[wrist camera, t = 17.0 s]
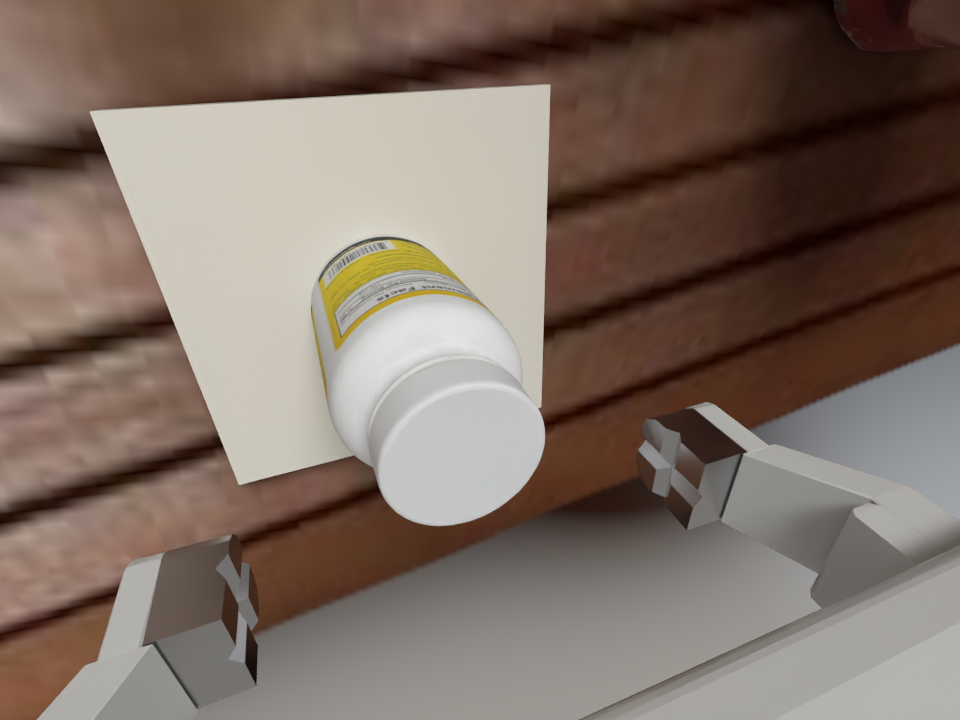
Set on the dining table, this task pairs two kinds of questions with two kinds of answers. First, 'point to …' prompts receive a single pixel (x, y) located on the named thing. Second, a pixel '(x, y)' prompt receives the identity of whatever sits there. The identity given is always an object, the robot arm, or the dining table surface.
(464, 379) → the supplement bottle
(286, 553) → the dining table surface
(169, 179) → the tile
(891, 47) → the decorative planter
